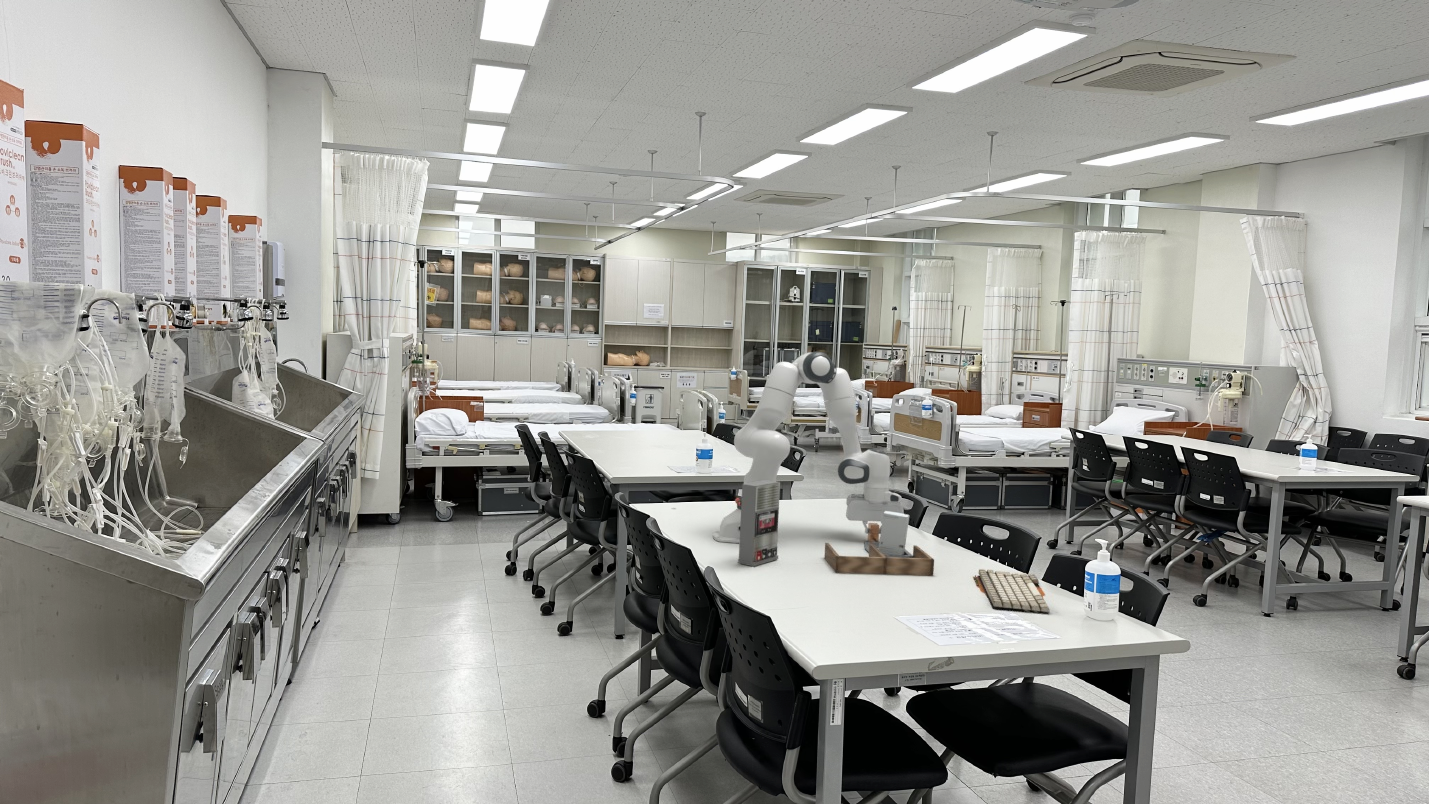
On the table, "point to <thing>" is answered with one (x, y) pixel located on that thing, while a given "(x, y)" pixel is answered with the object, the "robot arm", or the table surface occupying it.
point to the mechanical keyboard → (1012, 591)
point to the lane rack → (880, 562)
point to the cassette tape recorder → (759, 522)
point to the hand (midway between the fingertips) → (873, 533)
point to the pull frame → (874, 540)
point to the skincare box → (893, 533)
